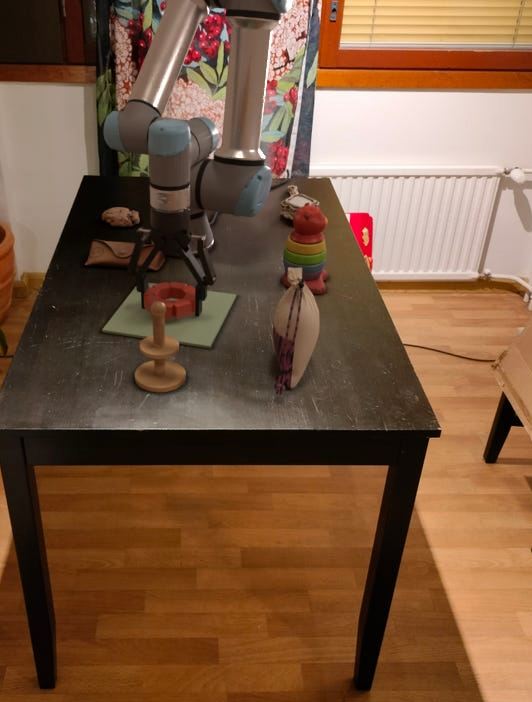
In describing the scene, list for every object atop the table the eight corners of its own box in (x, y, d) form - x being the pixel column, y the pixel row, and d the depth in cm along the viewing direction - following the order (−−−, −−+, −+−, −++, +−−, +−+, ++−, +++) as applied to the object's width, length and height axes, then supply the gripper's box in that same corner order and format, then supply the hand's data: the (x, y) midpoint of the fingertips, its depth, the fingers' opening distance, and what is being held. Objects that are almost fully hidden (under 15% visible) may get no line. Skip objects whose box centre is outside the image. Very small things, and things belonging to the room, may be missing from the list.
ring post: (144, 361, 131) (141, 286, 123) (191, 368, 130) (191, 293, 121) (127, 387, 124) (123, 311, 116) (177, 396, 122) (175, 318, 114)
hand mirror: (312, 181, 209) (327, 209, 183) (306, 201, 212) (320, 231, 185) (277, 173, 208) (287, 200, 182) (272, 192, 211) (280, 222, 184)
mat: (139, 283, 158) (139, 281, 158) (236, 296, 153) (236, 294, 153) (102, 332, 140) (101, 329, 140) (210, 348, 135) (210, 346, 135)
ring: (155, 290, 151) (154, 279, 150) (204, 296, 149) (204, 285, 147) (137, 313, 142) (137, 302, 141) (189, 321, 140) (189, 309, 138)
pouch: (274, 328, 142) (281, 239, 132) (315, 331, 141) (325, 242, 131) (265, 401, 121) (272, 302, 111) (313, 406, 120) (325, 307, 110)
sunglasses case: (82, 265, 164) (84, 236, 164) (90, 268, 171) (92, 240, 171) (159, 271, 162) (161, 241, 162) (164, 273, 169) (166, 245, 169)
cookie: (110, 212, 194) (109, 202, 192) (146, 217, 191) (146, 206, 189) (94, 225, 186) (93, 214, 184) (132, 231, 183) (131, 220, 181)
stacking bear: (325, 295, 154) (333, 217, 144) (278, 290, 156) (284, 213, 146) (328, 274, 163) (336, 199, 153) (284, 269, 165) (289, 195, 155)
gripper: (105, 207, 133) (112, 310, 145) (225, 220, 129) (222, 326, 140) (119, 193, 140) (125, 294, 151) (234, 206, 135) (231, 308, 147)
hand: (171, 309), depth 146 cm, fingers closed on ring, 11 cm apart
